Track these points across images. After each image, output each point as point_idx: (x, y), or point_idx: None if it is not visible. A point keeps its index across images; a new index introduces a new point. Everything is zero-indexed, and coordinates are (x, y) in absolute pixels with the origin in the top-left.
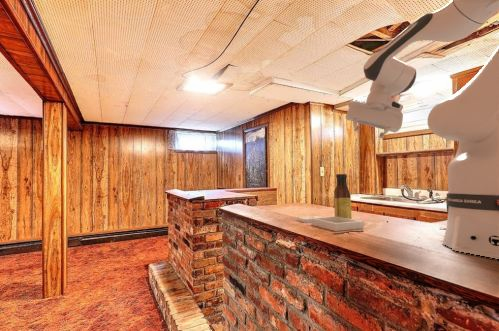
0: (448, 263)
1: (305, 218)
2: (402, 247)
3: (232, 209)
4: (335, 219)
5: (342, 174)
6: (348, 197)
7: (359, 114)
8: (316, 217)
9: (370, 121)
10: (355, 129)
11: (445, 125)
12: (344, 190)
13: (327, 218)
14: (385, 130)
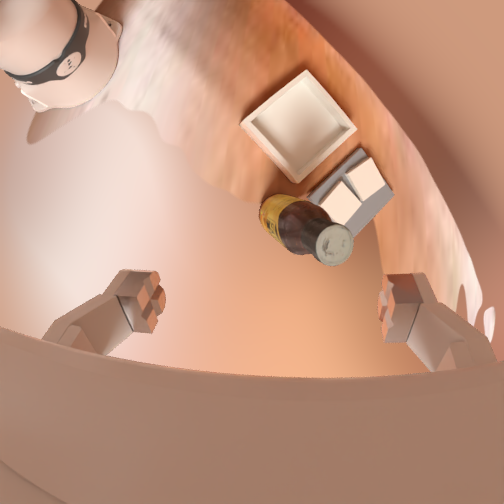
0: None
1: (368, 169)
2: (193, 21)
3: (484, 317)
4: (303, 169)
5: (332, 223)
6: (284, 210)
7: (500, 415)
8: (346, 197)
9: (276, 379)
10: (410, 274)
11: None
12: (304, 207)
13: (323, 152)
14: (88, 346)
